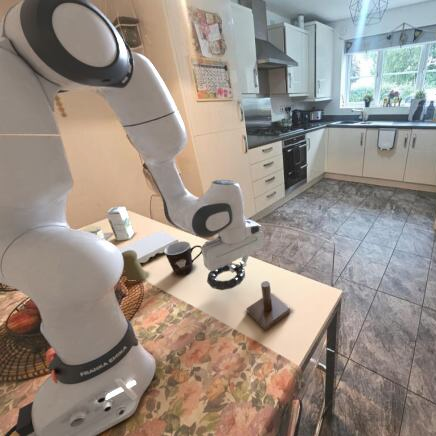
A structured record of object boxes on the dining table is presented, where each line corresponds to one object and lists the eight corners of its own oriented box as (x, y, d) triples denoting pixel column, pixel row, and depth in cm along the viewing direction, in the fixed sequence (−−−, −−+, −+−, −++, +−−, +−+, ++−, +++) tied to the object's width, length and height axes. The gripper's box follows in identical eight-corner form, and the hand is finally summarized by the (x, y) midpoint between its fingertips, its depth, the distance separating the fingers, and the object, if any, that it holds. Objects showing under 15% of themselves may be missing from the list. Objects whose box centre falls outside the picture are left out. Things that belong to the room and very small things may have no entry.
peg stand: (265, 330, 65) (262, 301, 61) (247, 312, 71) (242, 284, 67) (290, 311, 71) (288, 283, 66) (271, 296, 77) (268, 269, 72)
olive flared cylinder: (137, 284, 84) (127, 258, 79) (123, 282, 85) (111, 257, 81) (150, 273, 90) (140, 248, 85) (136, 272, 91) (126, 247, 86)
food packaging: (131, 271, 92) (179, 245, 106) (127, 263, 90) (177, 239, 104) (115, 258, 100) (162, 236, 114) (112, 251, 99) (160, 230, 113)
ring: (219, 297, 71) (217, 290, 70) (202, 279, 79) (200, 272, 77) (252, 279, 78) (251, 272, 77) (233, 263, 86) (232, 257, 84)
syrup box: (121, 235, 117) (110, 207, 111) (135, 233, 118) (124, 206, 112) (116, 241, 112) (104, 212, 106) (130, 239, 113) (119, 211, 107)
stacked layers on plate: (112, 233, 119) (108, 223, 116) (100, 243, 111) (96, 232, 108) (91, 235, 118) (86, 225, 116) (78, 245, 110) (72, 234, 108)
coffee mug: (167, 278, 86) (159, 255, 82) (176, 264, 94) (170, 241, 90) (200, 276, 87) (194, 253, 82) (206, 262, 94) (201, 240, 90)
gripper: (204, 248, 66) (213, 288, 72) (265, 224, 78) (268, 259, 84) (195, 240, 70) (204, 278, 76) (254, 218, 82) (258, 252, 88)
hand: (238, 268), depth 80 cm, fingers closed on ring, 2 cm apart
